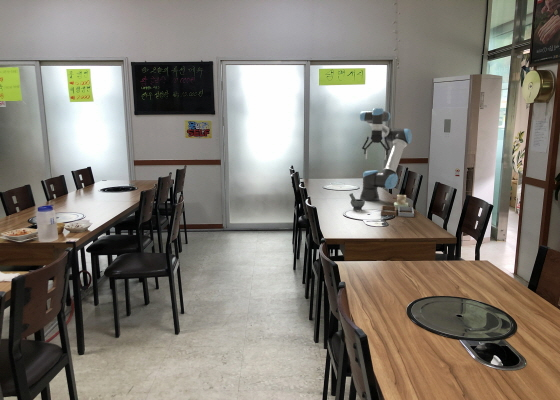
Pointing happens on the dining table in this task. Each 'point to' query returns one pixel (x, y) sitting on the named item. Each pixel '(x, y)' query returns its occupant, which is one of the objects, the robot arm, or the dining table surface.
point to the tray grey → (405, 210)
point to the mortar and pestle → (356, 202)
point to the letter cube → (401, 199)
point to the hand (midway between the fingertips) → (375, 159)
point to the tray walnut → (388, 209)
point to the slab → (400, 205)
